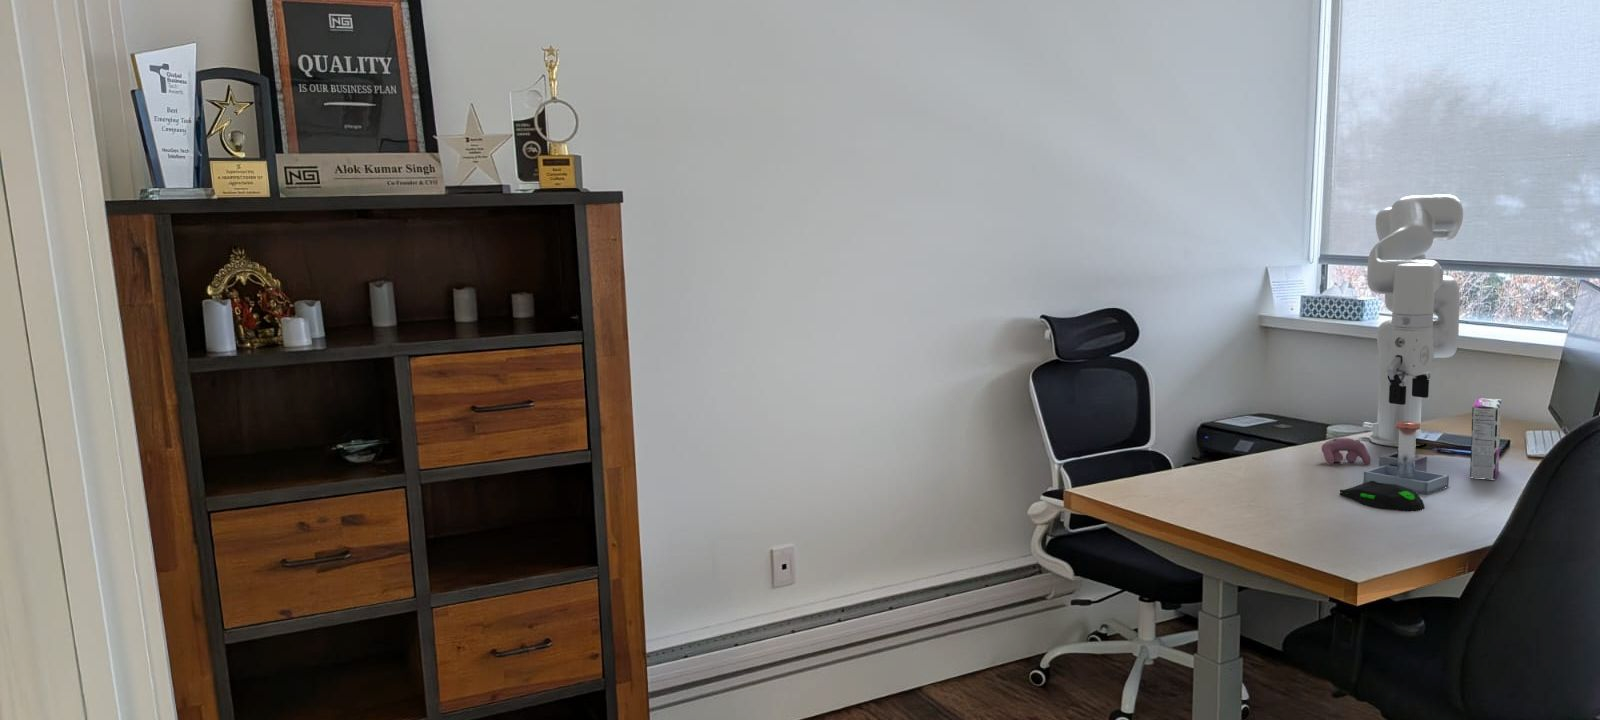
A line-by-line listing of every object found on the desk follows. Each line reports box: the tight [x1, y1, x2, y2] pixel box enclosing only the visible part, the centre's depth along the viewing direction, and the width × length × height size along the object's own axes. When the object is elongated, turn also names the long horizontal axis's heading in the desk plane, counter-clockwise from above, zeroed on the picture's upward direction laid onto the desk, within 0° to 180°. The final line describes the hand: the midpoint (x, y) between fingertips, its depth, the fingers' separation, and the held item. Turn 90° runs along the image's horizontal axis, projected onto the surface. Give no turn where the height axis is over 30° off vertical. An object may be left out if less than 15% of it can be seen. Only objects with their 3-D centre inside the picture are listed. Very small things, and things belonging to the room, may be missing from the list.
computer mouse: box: [1339, 481, 1425, 512], centre depth 212 cm, size 11×16×4 cm
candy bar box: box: [1469, 397, 1502, 480], centre depth 229 cm, size 11×5×16 cm, turn 143°
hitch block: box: [1378, 451, 1428, 472], centre depth 232 cm, size 7×7×4 cm
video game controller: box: [1321, 437, 1372, 466], centre depth 245 cm, size 10×5×7 cm, turn 85°
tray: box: [1362, 465, 1450, 495], centre depth 223 cm, size 13×9×2 cm
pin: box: [1396, 421, 1421, 480], centre depth 223 cm, size 5×5×13 cm
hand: (1408, 400), depth 222 cm, fingers open, 9 cm apart
